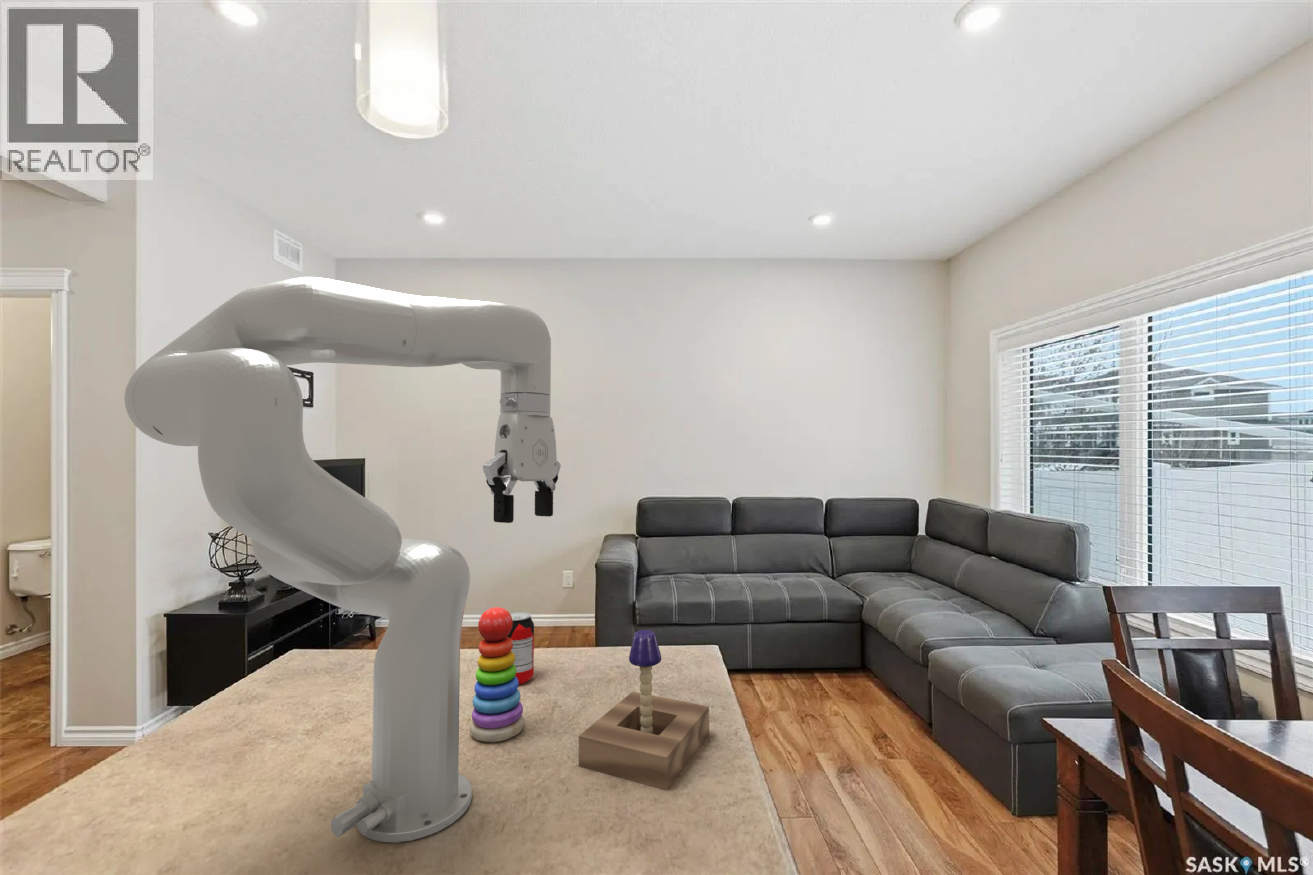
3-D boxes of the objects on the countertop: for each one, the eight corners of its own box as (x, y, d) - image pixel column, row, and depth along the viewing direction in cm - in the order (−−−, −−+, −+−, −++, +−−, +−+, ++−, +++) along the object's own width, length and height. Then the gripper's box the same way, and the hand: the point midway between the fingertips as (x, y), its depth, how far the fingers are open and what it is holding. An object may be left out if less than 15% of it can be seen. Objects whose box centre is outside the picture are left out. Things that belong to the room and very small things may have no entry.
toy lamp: (657, 761, 78) (657, 638, 78) (624, 757, 78) (625, 636, 79) (664, 743, 82) (664, 628, 83) (633, 740, 83) (633, 626, 84)
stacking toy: (490, 716, 91) (492, 599, 92) (533, 724, 88) (535, 603, 89) (458, 739, 83) (460, 611, 84) (504, 748, 81) (505, 616, 81)
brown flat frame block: (666, 789, 71) (666, 757, 71) (578, 766, 76) (578, 735, 76) (709, 733, 85) (708, 706, 85) (632, 716, 91) (632, 691, 91)
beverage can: (532, 672, 109) (533, 610, 110) (534, 685, 103) (535, 619, 104) (498, 676, 108) (499, 612, 108) (498, 689, 102) (499, 621, 102)
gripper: (508, 401, 77) (506, 526, 77) (577, 410, 93) (576, 514, 93) (466, 403, 81) (464, 523, 80) (539, 412, 96) (538, 513, 96)
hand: (524, 519), depth 86 cm, fingers open, 9 cm apart
